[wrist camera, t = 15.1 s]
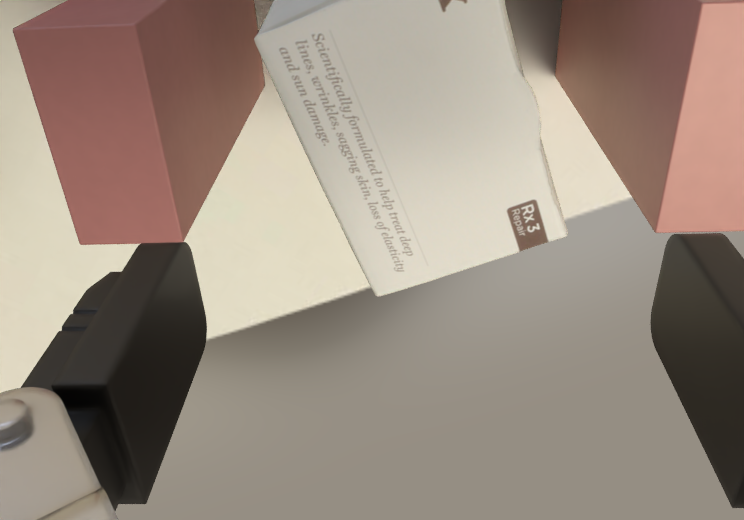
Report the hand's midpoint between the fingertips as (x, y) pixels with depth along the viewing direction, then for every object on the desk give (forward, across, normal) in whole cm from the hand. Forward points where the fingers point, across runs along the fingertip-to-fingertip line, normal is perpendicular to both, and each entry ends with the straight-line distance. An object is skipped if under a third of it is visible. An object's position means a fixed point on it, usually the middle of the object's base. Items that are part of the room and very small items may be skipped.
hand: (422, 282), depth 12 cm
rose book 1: (+20, +8, 0) cm, 22 cm away
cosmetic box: (+21, 0, 0) cm, 21 cm away
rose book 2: (+21, -8, 0) cm, 22 cm away
